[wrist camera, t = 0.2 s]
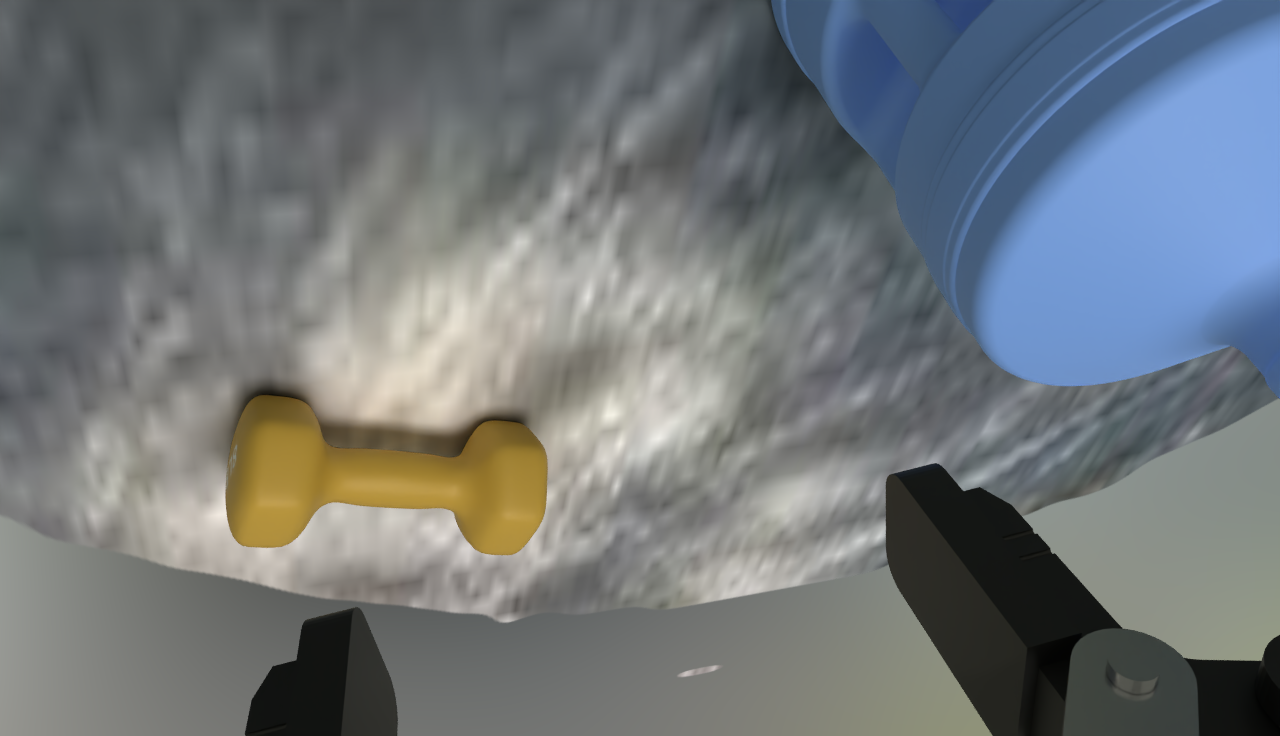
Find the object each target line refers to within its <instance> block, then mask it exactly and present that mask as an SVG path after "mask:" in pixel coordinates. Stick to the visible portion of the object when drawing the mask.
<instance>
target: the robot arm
mask: <svg viewBox="0 0 1280 736" xmlns="http://www.w3.org/2000/svg"><path fill="white" fill-rule="evenodd" d="M886 553H887V559H888V564H889V567H890V571H891V573H892V576H893V579H894V580H895V583H896V585H897V587H898V589H899V591H900V592H901V594H902V595H903V597H904V598H905V600H906V602H907V603H908V605H909V606H910V608H911V609H912V611H913V612H914V614H915V615H916V617H917V619H918V620H919V622H920V623H921V625H922V626H923V628H924V630H925V631H926V633H927V634H928V636H929V637H930V639H931V640H932V642H933V644H934V645H935V647H936V648H937V650H938V651H939V653H940V654H941V656H942V658H943V659H944V661H945V662H946V664H947V665H948V667H949V668H950V670H951V672H952V673H953V675H954V676H955V678H956V679H957V681H958V682H959V684H960V685H961V687H962V689H963V690H964V692H965V693H966V695H967V696H968V698H969V699H970V701H971V702H972V704H973V706H974V707H975V709H976V710H977V712H978V714H979V715H980V717H981V718H982V720H983V721H984V723H985V724H986V726H987V728H988V729H989V730H990V732H991V734H992V735H993V736H1280V635H1279V636H1277V637H1275V638H1274V639H1273V640H1271V641H1270V642H1269V643H1268V645H1267V647H1266V649H1265V651H1264V655H1263V658H1262V661H1233V660H1232V661H1231V660H1225V661H1224V660H1196V659H1187V658H1183V657H1182V655H1180V654H1179V653H1178V652H1177V651H1176V650H1175V649H1174V648H1172V647H1171V646H1169V645H1167V644H1166V643H1164V642H1163V641H1161V640H1159V639H1157V638H1155V637H1152V636H1150V635H1147V634H1145V633H1142V632H1138V631H1134V630H1128V629H1122V627H1121V626H1120V625H1119V624H1118V623H1117V622H1116V621H1115V620H1114V619H1113V618H1112V617H1111V615H1110V614H1109V613H1108V612H1107V611H1106V610H1105V609H1104V608H1103V607H1102V605H1101V604H1100V603H1099V602H1098V601H1097V600H1096V599H1095V598H1094V597H1093V596H1092V594H1091V593H1090V592H1089V591H1088V590H1087V589H1086V588H1085V586H1084V585H1083V584H1082V583H1081V582H1080V581H1079V580H1078V579H1077V578H1076V576H1075V575H1074V574H1073V573H1072V572H1071V571H1070V570H1069V569H1068V568H1067V566H1066V565H1065V564H1064V563H1063V562H1062V561H1061V560H1060V559H1059V557H1058V556H1057V555H1056V554H1052V553H1051V550H1050V548H1049V546H1048V545H1047V544H1046V543H1045V542H1044V541H1043V540H1042V539H1041V537H1040V536H1039V535H1038V534H1034V532H1033V529H1032V528H1031V526H1030V525H1029V524H1028V523H1027V522H1026V521H1025V520H1024V519H1023V517H1022V516H1021V515H1020V514H1019V513H1018V512H1017V511H1016V510H1015V508H1014V507H1013V506H1012V505H1011V504H1009V503H1007V502H1005V501H1003V500H1002V499H1000V498H998V497H996V496H995V495H993V494H991V493H989V492H987V491H986V490H984V489H982V488H980V487H979V488H975V489H971V490H967V491H963V490H962V489H961V488H960V487H959V486H958V484H957V483H956V482H955V481H954V480H953V478H952V477H951V476H950V475H949V474H948V472H947V471H946V470H945V469H944V468H943V467H942V466H941V465H939V464H937V463H934V464H930V465H926V466H922V467H918V468H914V469H910V470H906V471H902V472H898V473H894V474H891V475H889V476H888V477H887V480H886ZM397 721H398V717H397V705H396V698H395V693H394V688H393V685H392V681H391V678H390V675H389V673H388V671H387V668H386V666H385V663H384V661H383V659H382V656H381V654H380V652H379V649H378V647H377V644H376V642H375V640H374V637H373V635H372V633H371V630H370V628H369V626H368V623H367V621H366V619H365V616H364V614H363V612H362V611H361V610H360V608H358V607H355V608H351V609H347V610H343V611H339V612H335V613H331V614H327V615H324V616H319V617H316V618H311V619H307V620H305V622H304V623H303V625H302V629H301V635H300V641H299V648H298V654H297V660H296V661H292V662H288V663H284V664H281V665H276V666H273V667H272V669H271V670H270V672H269V673H268V675H267V676H266V678H265V680H264V681H263V683H262V684H261V686H260V688H259V689H258V691H257V692H256V694H255V696H254V697H253V699H252V701H251V707H250V711H249V716H248V721H247V726H246V731H245V735H246V736H397V725H398V722H397Z"/></svg>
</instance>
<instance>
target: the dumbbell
mask: <svg viewBox="0 0 1280 736" xmlns="http://www.w3.org/2000/svg"><path fill="white" fill-rule="evenodd" d="M547 470H548V467H547V455H546V452H545V449H544V447H543V445H542V444H541V442H540V441H539V440H538V439H537V437H536V436H535V435H534V434H533V433H532V432H531V430H530V429H529V428H527V427H526V426H524V425H523V424H521V423H517V422H509V421H498V420H492V421H487V422H484V423H482V424H481V425H479V426H478V427H477V428H476V430H475V431H474V432H473V434H472V435H471V436H470V438H469V440H468V441H467V443H466V445H465V447H464V448H463V450H462V453H461V454H460V455H459V456H457V457H453V458H450V457H442V456H437V455H432V454H424V453H414V452H404V451H394V450H380V449H366V448H336V447H333V446H330V445H329V444H327V443H326V442H325V440H324V439H323V436H322V432H321V429H320V426H319V423H318V420H317V418H316V415H315V414H314V412H313V410H312V409H311V407H310V406H308V405H307V404H306V403H305V402H303V401H301V400H298V399H294V398H289V397H281V396H272V395H259V396H257V397H255V398H253V399H252V400H251V401H250V402H249V403H248V404H247V406H246V407H245V409H244V411H243V413H242V415H241V417H240V420H239V422H238V425H237V428H236V431H235V434H234V437H233V440H232V444H231V449H230V454H229V460H228V467H227V475H226V511H227V518H228V523H229V527H230V531H231V533H232V535H233V537H234V538H235V540H236V541H237V542H238V543H239V544H241V545H242V546H247V547H262V548H274V547H282V546H285V545H287V544H289V543H291V542H292V541H293V540H295V539H296V538H297V537H298V536H299V535H300V534H301V532H302V531H303V530H304V529H305V527H306V526H307V524H308V522H309V521H310V519H311V518H312V516H313V515H314V513H315V512H316V511H317V510H318V509H319V508H320V507H322V506H323V505H325V504H327V503H332V502H339V503H346V504H352V505H359V506H370V507H385V508H405V509H428V508H444V509H448V510H451V511H452V512H454V515H455V519H456V522H457V525H458V527H459V529H460V531H461V532H462V534H463V536H464V537H465V539H466V540H467V541H468V542H469V543H470V544H471V546H472V547H473V548H474V549H475V550H477V551H479V552H481V553H485V554H491V555H512V554H515V553H517V552H519V551H520V550H521V549H522V548H523V547H524V546H525V545H526V544H527V542H528V541H529V540H530V538H531V537H532V536H533V534H534V533H535V532H536V530H537V529H538V527H539V526H540V524H541V522H542V520H543V517H544V514H545V509H546V497H547Z"/></svg>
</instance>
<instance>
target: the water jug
mask: <svg viewBox="0 0 1280 736" xmlns="http://www.w3.org/2000/svg"><path fill="white" fill-rule="evenodd" d="M771 3H772V9H773V13H774V17H775V21H776V24H777V27H778V29H779V32H780V34H781V36H782V39H783V41H784V42H785V44H786V46H787V48H788V49H789V51H790V53H791V54H792V56H793V57H794V59H795V61H796V62H797V64H798V65H799V67H800V68H801V70H802V71H803V72H804V73H805V75H806V76H807V77H808V78H809V79H810V80H811V81H812V82H813V83H814V84H815V86H816V87H817V89H818V91H819V92H820V94H821V95H822V97H823V99H824V100H825V102H826V103H827V105H828V106H829V108H830V110H831V111H832V113H833V114H834V116H835V118H836V119H837V120H838V122H839V123H840V124H841V126H842V127H843V128H844V129H845V130H846V131H847V132H848V133H849V134H850V135H851V137H852V138H853V139H854V140H855V141H856V142H858V143H859V144H860V145H861V146H862V147H863V148H864V149H865V150H866V151H867V153H868V154H869V155H870V156H871V157H872V158H873V159H874V160H875V161H876V163H877V164H878V165H879V167H880V168H881V170H882V172H883V173H884V175H885V176H886V178H887V180H888V181H889V183H890V184H891V186H892V187H893V189H894V190H895V194H896V202H897V207H898V211H899V214H900V217H901V220H902V222H903V224H904V226H905V228H906V230H907V232H908V233H909V235H910V236H911V238H912V240H913V241H914V243H915V244H916V246H917V247H918V249H919V251H920V252H921V254H922V255H923V257H924V259H925V262H926V265H927V267H928V269H929V272H930V274H931V275H932V278H933V280H934V282H935V284H936V285H937V287H938V289H939V290H940V292H941V293H942V295H943V297H944V298H945V300H946V301H947V303H948V305H949V306H950V308H951V309H952V311H953V312H954V314H955V315H956V317H957V318H958V319H959V320H960V322H961V323H962V324H963V326H964V327H965V328H966V329H967V330H968V331H969V332H970V333H971V334H972V335H973V336H974V337H975V339H976V341H977V342H978V344H979V345H980V347H981V348H982V350H983V351H984V352H985V354H986V355H987V356H988V357H989V358H990V359H991V360H992V361H993V362H994V363H996V364H997V365H998V366H999V367H1001V368H1002V369H1004V370H1005V371H1007V372H1009V373H1011V374H1013V375H1015V376H1017V377H1020V378H1022V379H1025V380H1028V381H1032V382H1036V383H1041V384H1047V385H1056V386H1086V385H1096V384H1103V383H1110V382H1115V381H1120V380H1125V379H1129V378H1133V377H1137V376H1141V375H1145V374H1148V373H1151V372H1155V371H1158V370H1161V369H1164V368H1167V367H1170V366H1173V365H1176V364H1179V363H1182V362H1185V361H1188V360H1190V359H1193V358H1196V357H1199V356H1202V355H1205V354H1208V353H1211V352H1214V351H1217V350H1220V349H1223V348H1226V347H1229V346H1232V347H1235V348H1237V349H1239V350H1240V351H1242V352H1243V353H1244V354H1245V355H1246V356H1247V357H1248V358H1249V359H1250V360H1251V362H1252V363H1253V364H1254V365H1255V366H1256V367H1257V369H1258V370H1259V371H1260V372H1261V373H1262V374H1263V375H1264V377H1265V380H1266V383H1267V385H1268V386H1269V388H1270V389H1271V390H1272V391H1273V392H1274V393H1275V395H1276V396H1277V397H1278V398H1279V399H1280V0H771Z"/></svg>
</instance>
